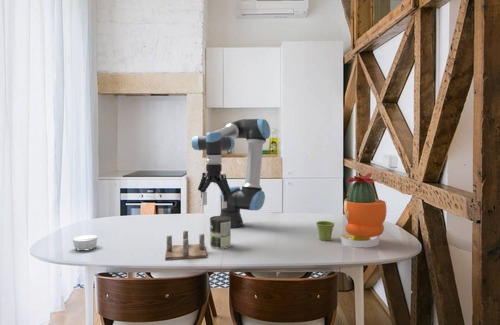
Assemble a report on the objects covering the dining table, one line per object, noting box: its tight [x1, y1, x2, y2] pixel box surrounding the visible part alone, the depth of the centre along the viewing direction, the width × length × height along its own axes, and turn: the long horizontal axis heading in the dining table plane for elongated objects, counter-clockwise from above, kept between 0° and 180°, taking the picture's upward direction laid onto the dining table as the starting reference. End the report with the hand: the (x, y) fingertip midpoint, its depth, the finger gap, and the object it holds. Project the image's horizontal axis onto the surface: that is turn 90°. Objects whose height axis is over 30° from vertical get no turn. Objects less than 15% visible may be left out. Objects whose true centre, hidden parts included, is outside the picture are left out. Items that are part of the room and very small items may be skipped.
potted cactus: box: [340, 172, 387, 248], centre depth 196 cm, size 22×22×35 cm
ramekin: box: [72, 234, 99, 250], centre depth 190 cm, size 11×11×5 cm
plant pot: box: [315, 220, 335, 242], centre depth 204 cm, size 9×9×9 cm
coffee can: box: [209, 215, 232, 250], centre depth 192 cm, size 10×10×14 cm
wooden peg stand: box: [164, 230, 207, 261], centre depth 182 cm, size 18×18×8 cm
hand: (214, 206), depth 193 cm, fingers open, 13 cm apart
